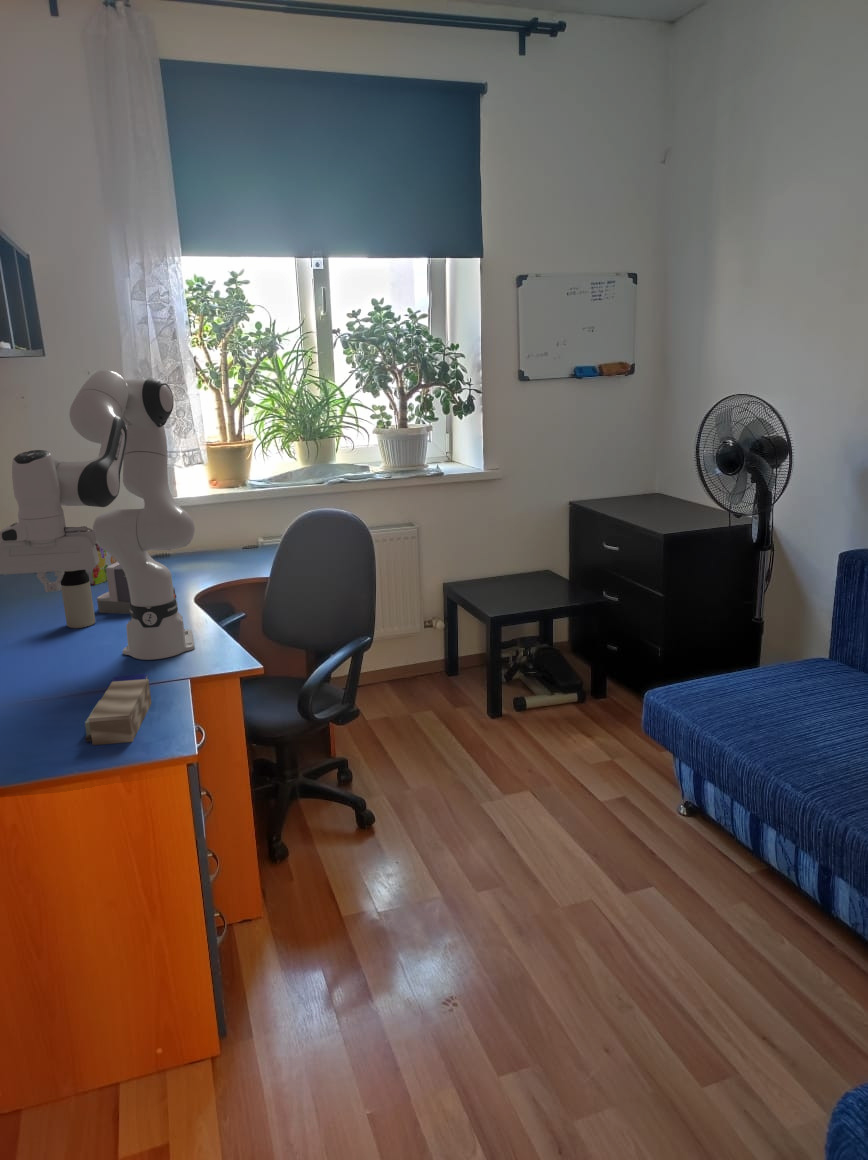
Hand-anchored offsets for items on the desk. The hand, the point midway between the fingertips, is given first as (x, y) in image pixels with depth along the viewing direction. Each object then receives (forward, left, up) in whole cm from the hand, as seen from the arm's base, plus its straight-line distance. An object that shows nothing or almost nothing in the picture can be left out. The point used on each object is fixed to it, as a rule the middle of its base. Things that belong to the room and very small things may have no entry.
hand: (53, 590), depth 184 cm
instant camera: (-85, -3, -29) cm, 90 cm away
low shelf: (+8, +12, -29) cm, 32 cm away
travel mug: (-67, -16, -29) cm, 75 cm away
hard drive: (-13, +9, -30) cm, 33 cm away
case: (+8, +11, -29) cm, 32 cm away
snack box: (-123, -20, -29) cm, 128 cm away
